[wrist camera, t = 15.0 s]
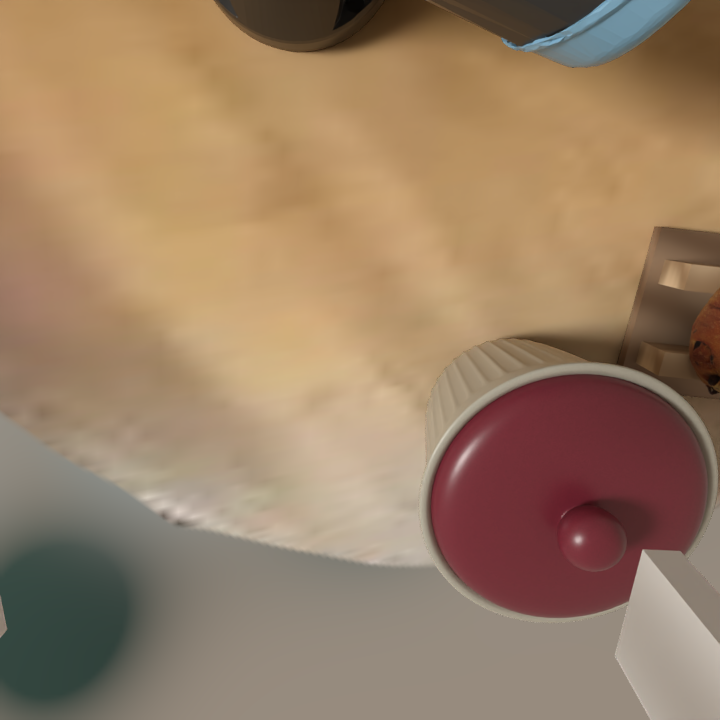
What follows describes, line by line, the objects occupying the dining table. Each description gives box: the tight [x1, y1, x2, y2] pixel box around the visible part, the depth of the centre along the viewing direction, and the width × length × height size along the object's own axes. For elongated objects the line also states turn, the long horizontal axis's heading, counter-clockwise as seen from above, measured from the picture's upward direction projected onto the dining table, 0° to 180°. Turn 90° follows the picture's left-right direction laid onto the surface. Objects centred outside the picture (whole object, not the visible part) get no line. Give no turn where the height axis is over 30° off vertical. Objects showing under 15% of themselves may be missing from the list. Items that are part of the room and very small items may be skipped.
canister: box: [419, 338, 718, 623], centre depth 36 cm, size 18×18×21 cm
